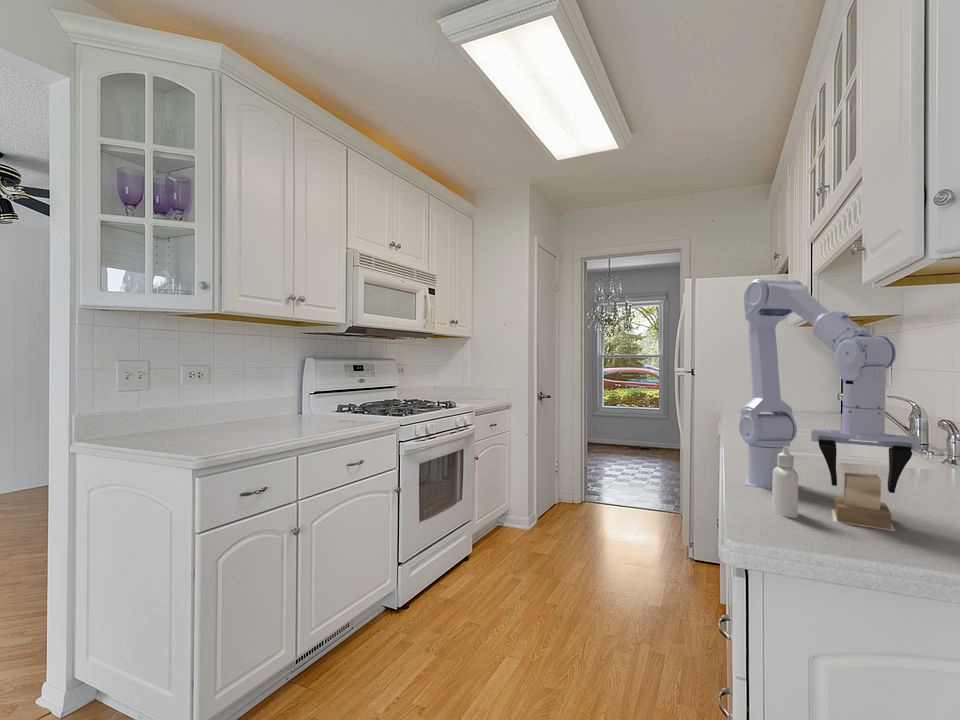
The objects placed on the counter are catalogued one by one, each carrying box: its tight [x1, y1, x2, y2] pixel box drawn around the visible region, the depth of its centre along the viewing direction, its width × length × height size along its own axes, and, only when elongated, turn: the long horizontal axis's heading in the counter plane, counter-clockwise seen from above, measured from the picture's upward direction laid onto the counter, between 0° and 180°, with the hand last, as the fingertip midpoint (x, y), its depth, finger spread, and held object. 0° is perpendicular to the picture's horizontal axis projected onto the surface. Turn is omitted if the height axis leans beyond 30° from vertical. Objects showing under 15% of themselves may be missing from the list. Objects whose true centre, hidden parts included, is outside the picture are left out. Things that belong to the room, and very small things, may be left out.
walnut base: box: [834, 495, 892, 529], centre depth 85 cm, size 7×7×2 cm
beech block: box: [843, 470, 882, 510], centre depth 85 cm, size 4×4×5 cm
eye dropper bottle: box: [771, 446, 799, 519], centre depth 88 cm, size 4×6×12 cm
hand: (861, 488), depth 85 cm, fingers open, 7 cm apart
